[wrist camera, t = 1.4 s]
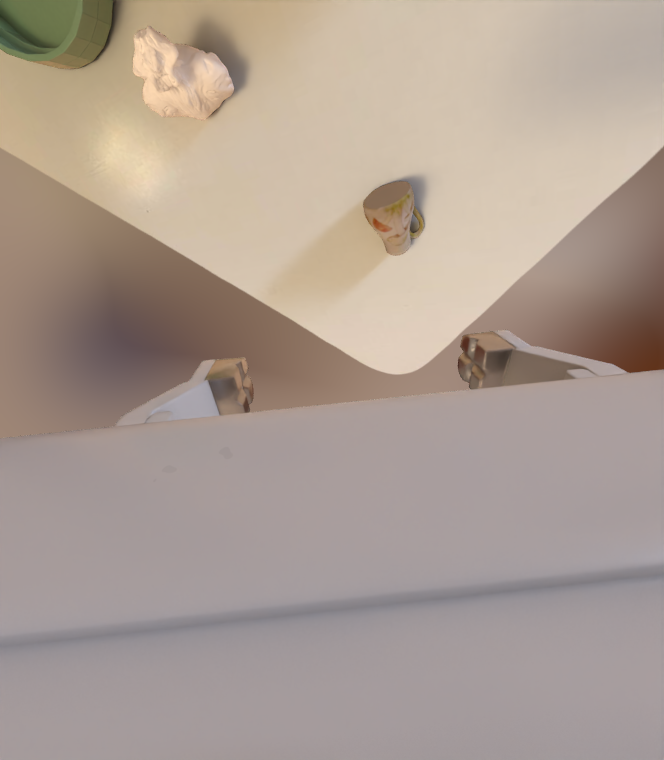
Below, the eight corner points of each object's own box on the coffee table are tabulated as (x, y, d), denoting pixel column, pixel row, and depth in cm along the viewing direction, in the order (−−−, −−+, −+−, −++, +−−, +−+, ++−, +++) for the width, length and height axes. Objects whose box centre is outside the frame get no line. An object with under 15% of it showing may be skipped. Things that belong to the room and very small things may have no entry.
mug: (381, 261, 53) (361, 252, 44) (377, 200, 51) (355, 178, 42) (426, 252, 50) (414, 241, 41) (423, 187, 48) (409, 160, 39)
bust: (242, 72, 42) (184, -39, 31) (248, 126, 41) (193, 35, 30) (167, 100, 44) (89, 8, 33) (173, 151, 44) (96, 76, 33)
